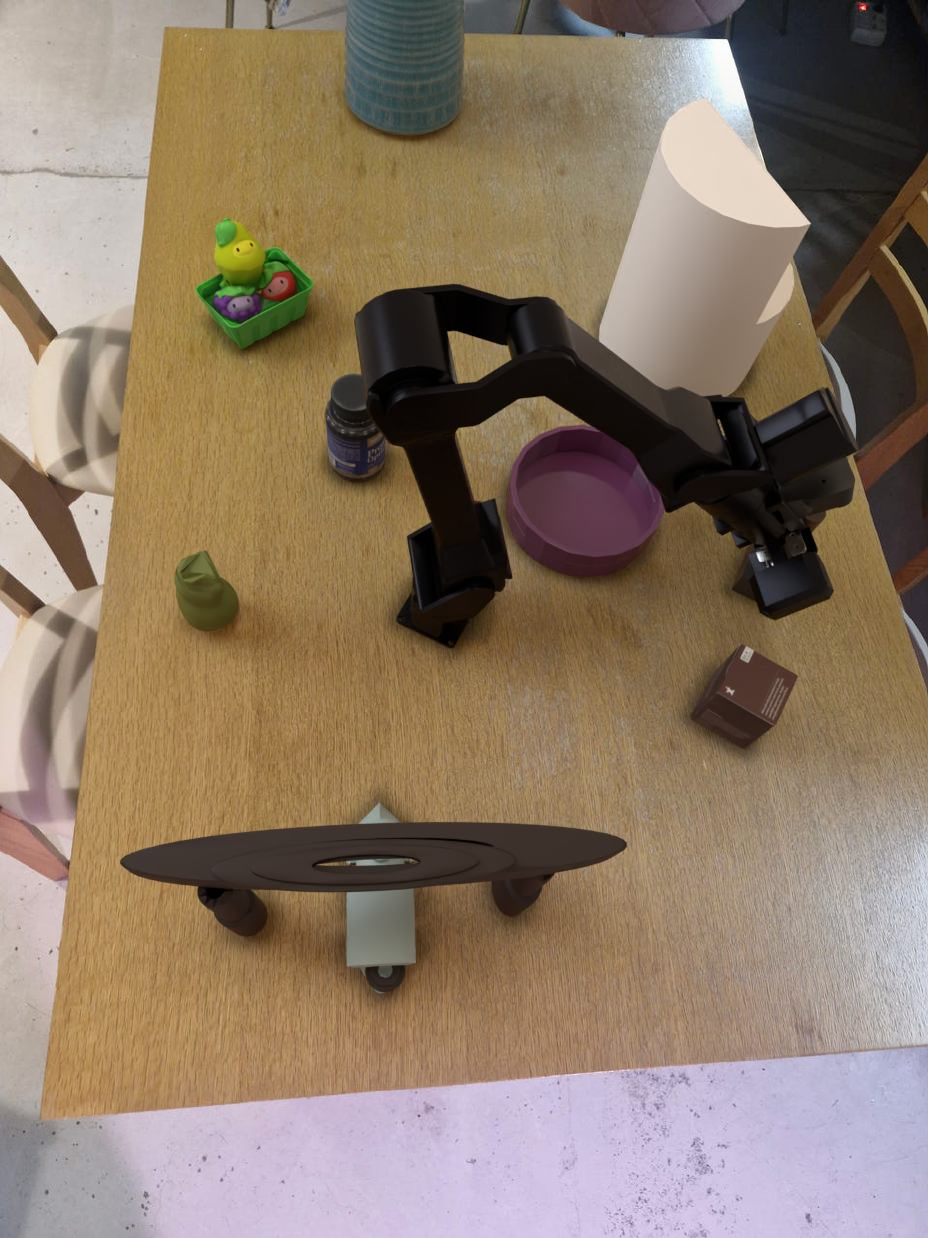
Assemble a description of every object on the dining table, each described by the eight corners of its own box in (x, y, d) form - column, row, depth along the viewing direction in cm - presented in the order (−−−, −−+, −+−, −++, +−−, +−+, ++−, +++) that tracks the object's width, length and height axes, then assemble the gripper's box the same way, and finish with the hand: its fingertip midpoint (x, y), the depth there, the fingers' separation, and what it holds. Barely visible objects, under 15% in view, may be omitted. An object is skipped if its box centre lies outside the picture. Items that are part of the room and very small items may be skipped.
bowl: (620, 602, 88) (632, 582, 84) (480, 536, 90) (484, 513, 85) (673, 488, 95) (686, 464, 90) (541, 428, 96) (548, 402, 92)
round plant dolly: (128, 736, 56) (617, 726, 59) (191, 808, 75) (559, 798, 78) (96, 997, 49) (650, 969, 53) (174, 1004, 68) (577, 983, 72)
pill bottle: (377, 488, 91) (377, 423, 81) (322, 476, 91) (315, 409, 81) (391, 443, 94) (392, 374, 84) (337, 431, 94) (332, 361, 84)
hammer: (766, 606, 89) (824, 543, 77) (730, 590, 90) (783, 524, 78) (782, 562, 92) (841, 495, 80) (747, 547, 92) (801, 477, 80)
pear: (176, 603, 83) (152, 553, 74) (227, 581, 85) (210, 529, 76) (199, 650, 81) (177, 603, 72) (251, 626, 83) (236, 578, 74)
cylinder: (635, 420, 98) (713, 241, 76) (575, 302, 105) (629, 107, 83) (775, 389, 102) (888, 210, 80) (708, 277, 109) (794, 84, 87)
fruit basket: (239, 362, 96) (222, 284, 86) (194, 314, 99) (173, 233, 89) (320, 317, 100) (313, 238, 90) (275, 273, 103) (264, 191, 93)
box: (743, 752, 82) (775, 728, 75) (687, 718, 83) (714, 692, 76) (767, 702, 84) (800, 675, 78) (713, 670, 85) (741, 641, 79)
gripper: (868, 544, 65) (915, 594, 77) (790, 356, 73) (844, 428, 84) (733, 600, 71) (796, 639, 83) (674, 422, 79) (739, 480, 90)
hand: (796, 543), depth 85 cm, fingers closed on hammer, 2 cm apart
